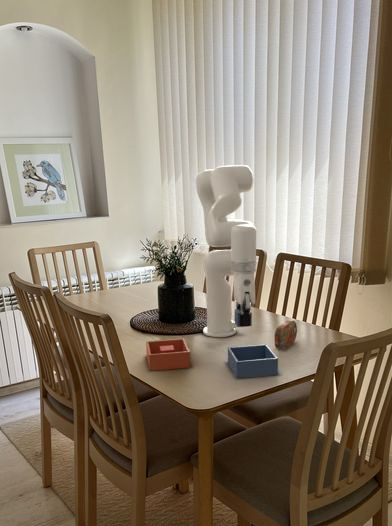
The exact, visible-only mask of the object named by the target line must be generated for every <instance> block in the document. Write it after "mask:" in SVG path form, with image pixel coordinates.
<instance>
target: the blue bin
mask: <svg viewBox="0 0 392 526" xmlns="http://www.w3.org/2000/svg"><path fill="white" fill-rule="evenodd" d="M227 364H228V366H229V368H230V370H231V371H232V373H233V374H234V376H235V378H236V379H243V378H244V379H245V378H256V377H257V378H258V377H267V376H278V375H279V358H278V356H277V355H276V353H274V352H273V350H272V349H271V348H270V347H269V346H268V345H267V344H255V345H253V344H251V345H240V346H229V347H227Z"/></svg>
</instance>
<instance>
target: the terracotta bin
mask: <svg viewBox="0 0 392 526" xmlns="http://www.w3.org/2000/svg"><path fill="white" fill-rule="evenodd" d="M169 345H173V347H174V350H175V352H173V353H160V346H169ZM145 346H146V347H145V348H146V358H147V363H148V367H149V372H151V371H153V372H154V371H162V370H163V371H164V370H175V369H187V368H188V369H189V368H191V351H190V349H189V347H188V345H187V342H186V339H185V338H174V339H161V340H147V341H145Z"/></svg>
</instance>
